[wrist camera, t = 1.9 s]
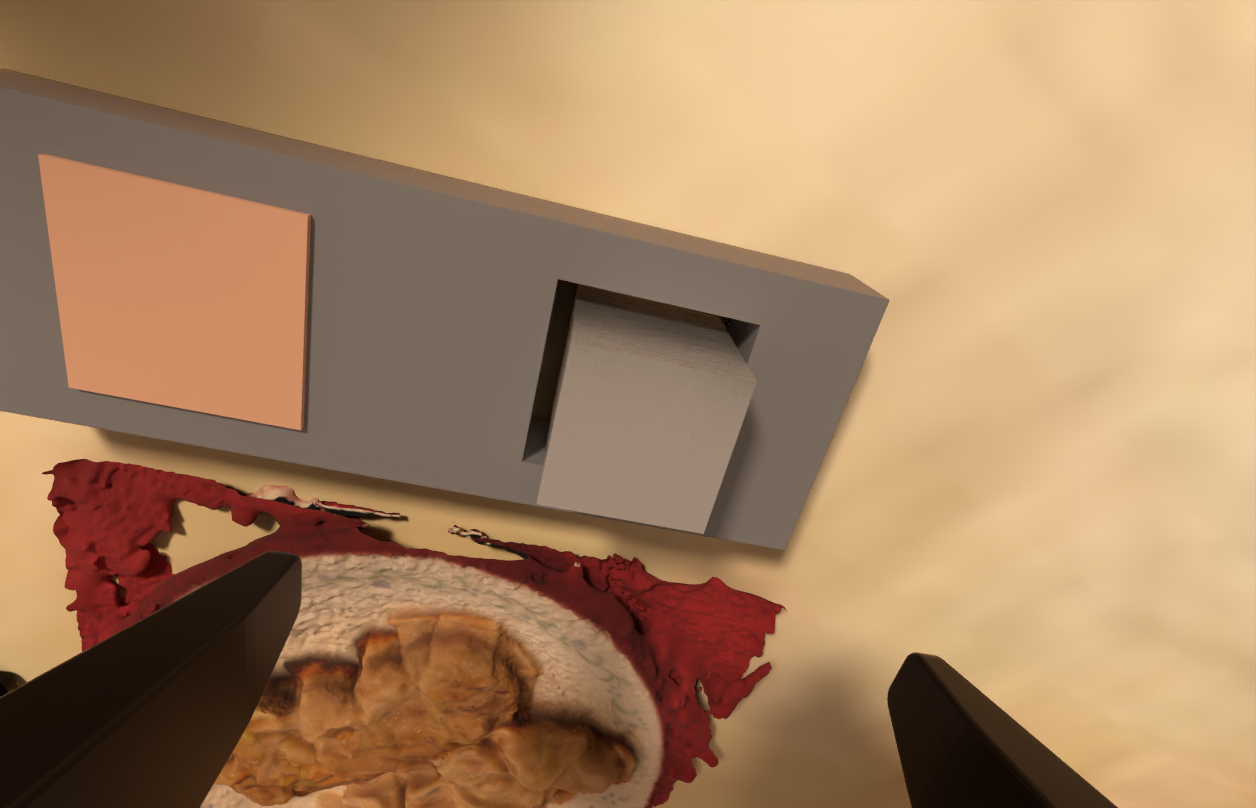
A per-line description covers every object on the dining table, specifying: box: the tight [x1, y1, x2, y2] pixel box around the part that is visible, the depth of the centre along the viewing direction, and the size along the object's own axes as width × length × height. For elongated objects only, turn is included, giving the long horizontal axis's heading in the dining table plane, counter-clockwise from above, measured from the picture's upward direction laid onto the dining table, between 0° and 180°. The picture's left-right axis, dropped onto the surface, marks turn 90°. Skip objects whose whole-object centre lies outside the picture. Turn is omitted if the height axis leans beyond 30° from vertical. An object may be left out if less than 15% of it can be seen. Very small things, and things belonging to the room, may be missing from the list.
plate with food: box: [42, 459, 787, 808], centre depth 27 cm, size 24×26×3 cm
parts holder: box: [0, 69, 889, 550], centre depth 18 cm, size 8×24×3 cm, turn 76°
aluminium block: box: [536, 284, 757, 534], centre depth 18 cm, size 4×4×6 cm
